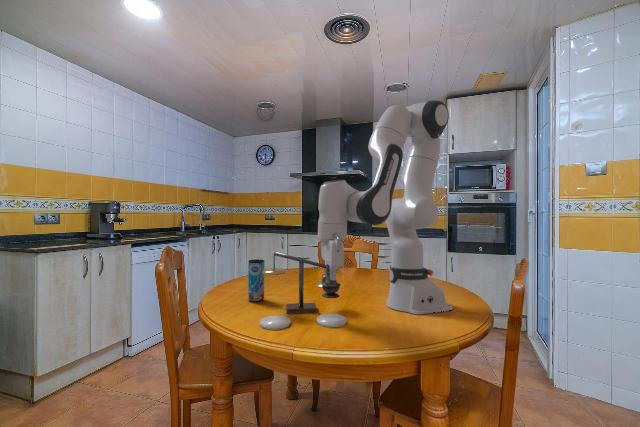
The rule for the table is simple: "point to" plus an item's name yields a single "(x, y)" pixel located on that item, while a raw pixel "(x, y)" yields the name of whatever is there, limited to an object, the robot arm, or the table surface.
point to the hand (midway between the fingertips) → (331, 278)
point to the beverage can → (255, 280)
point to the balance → (299, 306)
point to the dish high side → (275, 322)
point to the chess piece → (330, 286)
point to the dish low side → (331, 320)
